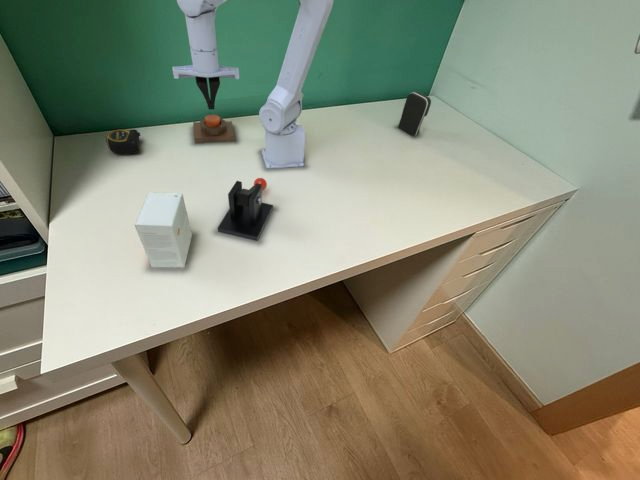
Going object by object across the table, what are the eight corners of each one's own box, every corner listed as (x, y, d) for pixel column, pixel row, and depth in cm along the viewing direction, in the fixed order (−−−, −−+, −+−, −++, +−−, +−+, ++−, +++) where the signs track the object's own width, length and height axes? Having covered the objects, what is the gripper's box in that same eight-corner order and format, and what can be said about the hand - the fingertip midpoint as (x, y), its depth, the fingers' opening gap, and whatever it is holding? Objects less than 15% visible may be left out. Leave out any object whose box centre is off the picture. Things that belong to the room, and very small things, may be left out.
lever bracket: (237, 200, 71) (234, 170, 65) (273, 209, 70) (273, 179, 64) (218, 232, 64) (213, 201, 58) (257, 241, 63) (256, 211, 58)
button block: (232, 127, 91) (231, 115, 89) (235, 142, 86) (234, 129, 84) (194, 128, 89) (192, 115, 86) (195, 143, 83) (193, 131, 81)
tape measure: (141, 156, 77) (137, 142, 74) (108, 158, 75) (102, 144, 72) (142, 141, 81) (138, 127, 79) (111, 142, 79) (106, 128, 77)
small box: (162, 234, 62) (147, 190, 54) (193, 235, 62) (183, 192, 55) (150, 268, 56) (132, 224, 48) (184, 268, 57) (172, 225, 49)
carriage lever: (255, 187, 73) (256, 175, 71) (267, 189, 72) (269, 177, 71) (235, 205, 62) (236, 191, 61) (249, 208, 62) (250, 194, 61)
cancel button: (219, 120, 87) (219, 114, 86) (220, 127, 84) (220, 121, 83) (205, 121, 86) (204, 114, 85) (206, 127, 83) (205, 121, 82)
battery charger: (421, 134, 102) (435, 98, 94) (414, 137, 100) (427, 100, 92) (404, 124, 105) (415, 88, 97) (396, 127, 103) (408, 91, 95)
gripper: (235, 42, 77) (238, 100, 86) (168, 40, 73) (180, 100, 82) (238, 53, 72) (242, 112, 82) (167, 51, 68) (180, 113, 78)
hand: (211, 107), depth 82 cm, fingers closed
